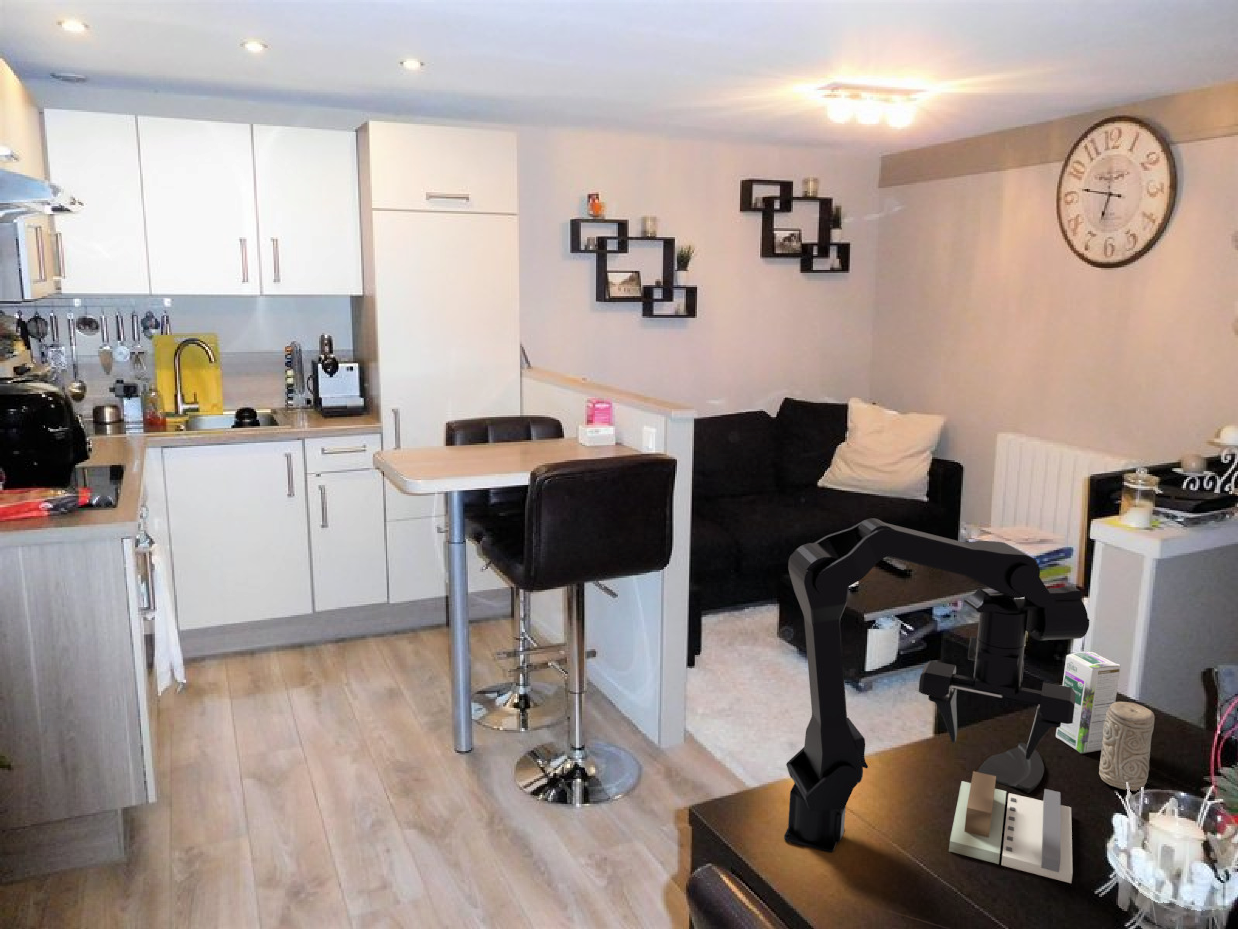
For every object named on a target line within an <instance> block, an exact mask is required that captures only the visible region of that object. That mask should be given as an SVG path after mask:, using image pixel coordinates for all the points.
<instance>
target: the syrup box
mask: <svg viewBox="0 0 1238 929" xmlns="http://www.w3.org/2000/svg"><path fill="white" fill-rule="evenodd" d="M1063 672H1064V673H1063V680H1062V686H1066V687H1071V688H1072V689H1073V690H1074V692H1075V693H1076V695H1075V706H1074V715H1073V723H1071V724H1065V723H1061V726H1060V727H1059V728H1056V731H1055V738H1057V739H1058V740H1060V741H1062V742H1063V743H1065V744H1066V745H1068V746H1069V747H1071V748H1073V749H1074V750H1075V751H1077V752H1078V753H1079V754H1086V753H1093V752H1097V751H1101V750H1102V746H1103V744H1102V741H1103V727H1104V722H1105V718H1106V712H1107V711H1108V708H1109V707H1110V706H1111V704H1113V703H1115V702H1117V701H1116V699H1117V694H1118V686H1119V679H1120V672H1121V664H1119V663H1116V662H1114V661H1111V660H1110V659H1107V658H1105V657H1104V656H1101V655H1099V654H1097V653H1096V652H1095V651H1080V652H1073V653H1069V654H1067V655H1066V656H1065V665H1064V671H1063Z"/></svg>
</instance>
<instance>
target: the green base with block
mask: <svg viewBox="0 0 1238 929" xmlns="http://www.w3.org/2000/svg"><path fill="white" fill-rule="evenodd" d="M960 782H961V783H960V787H959V792H958V798H957V804H956V808H955V812H954V813H955V814H954V817H953V818H954V819H953V823H952V828H951V832H950V837H949V847H948V852H949V853H955V854H958V855H961V856H967V857H970V858H974V859H977V860H981V861H985V862H989V863H994V864H997V865H999V864H1000V857H1001V856H1000V854H1001V846H1002V837H1003V835H1002V834H1003V826H1004V818H1005V809H1006V798H1007V790H1002V789H998V788H996V783H997V782H996V776H992V775H988V774H983V773H979V772H977V771H974V770H973V771H972V775H971V781H970V782H968V781H963V780H962V781H960Z"/></svg>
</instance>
